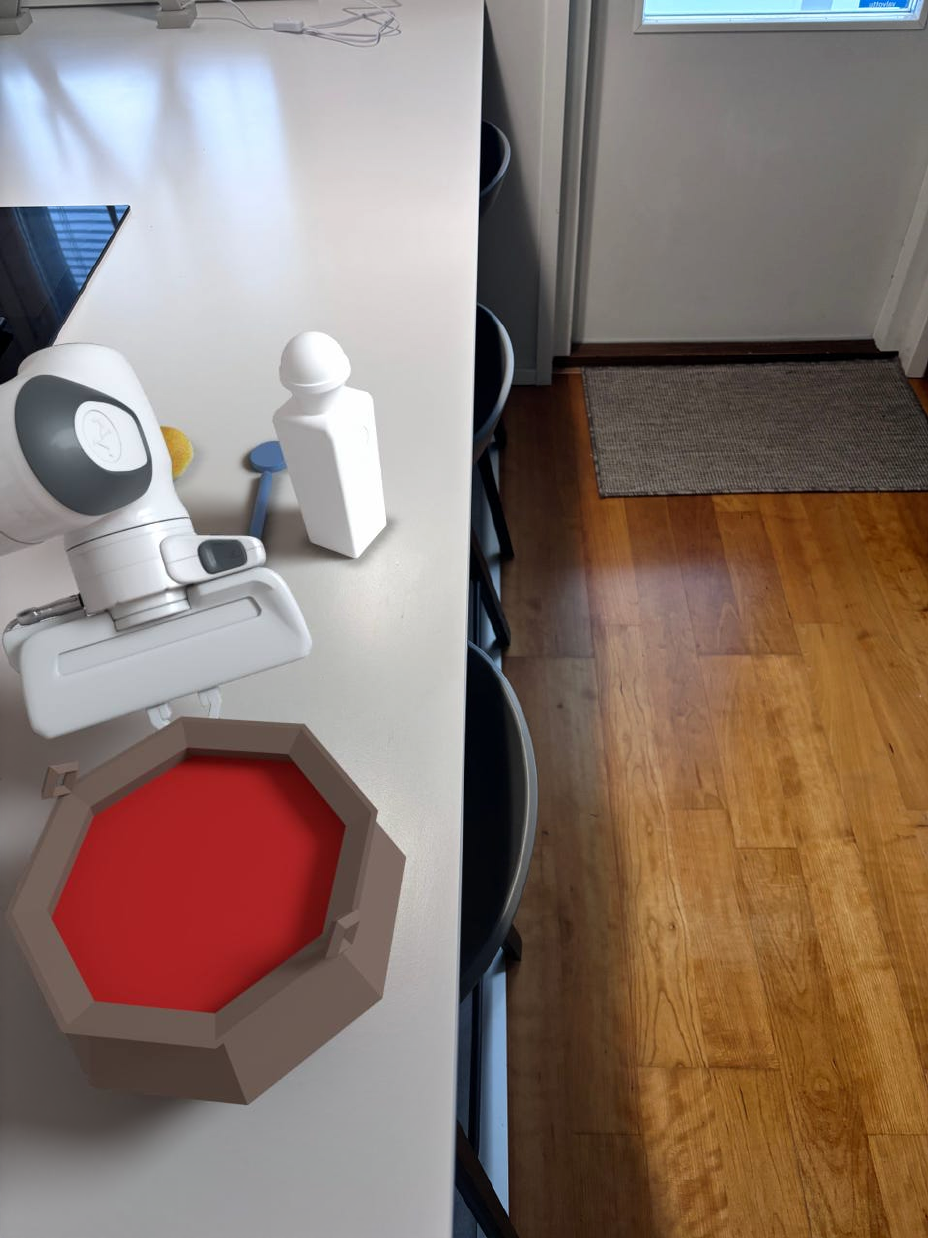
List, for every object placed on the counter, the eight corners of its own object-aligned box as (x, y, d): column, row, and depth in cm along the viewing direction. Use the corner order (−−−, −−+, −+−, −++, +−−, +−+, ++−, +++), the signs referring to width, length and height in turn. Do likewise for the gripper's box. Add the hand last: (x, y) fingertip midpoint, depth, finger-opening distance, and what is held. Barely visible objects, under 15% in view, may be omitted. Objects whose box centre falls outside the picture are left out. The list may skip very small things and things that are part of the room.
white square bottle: (357, 564, 91) (317, 366, 74) (302, 544, 93) (251, 347, 77) (394, 522, 94) (363, 325, 78) (340, 503, 97) (298, 308, 80)
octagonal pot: (-2, 1028, 64) (-131, 925, 51) (223, 757, 77) (163, 624, 65) (287, 1229, 55) (214, 1163, 43) (483, 884, 68) (471, 759, 56)
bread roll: (201, 477, 101) (191, 447, 98) (116, 499, 99) (103, 470, 96) (189, 433, 106) (179, 403, 103) (108, 453, 105) (96, 424, 102)
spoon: (272, 572, 91) (270, 563, 90) (227, 575, 91) (224, 566, 90) (294, 446, 104) (292, 437, 103) (254, 448, 104) (252, 439, 103)
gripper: (-20, 619, 63) (48, 814, 64) (278, 532, 67) (337, 717, 68) (5, 617, 69) (67, 795, 70) (277, 538, 73) (331, 707, 74)
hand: (202, 756), depth 69 cm, fingers closed
